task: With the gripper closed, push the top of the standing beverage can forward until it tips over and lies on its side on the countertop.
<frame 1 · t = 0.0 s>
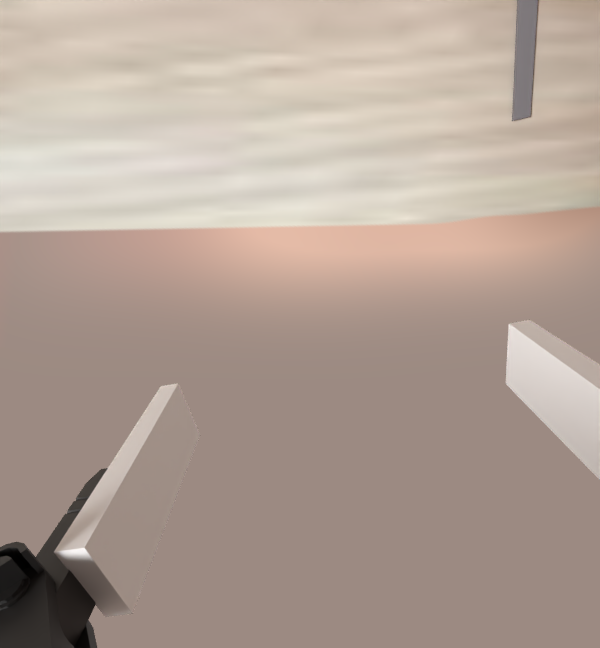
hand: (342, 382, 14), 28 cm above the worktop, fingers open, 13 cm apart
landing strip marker: (526, 5, 30), on the worktop
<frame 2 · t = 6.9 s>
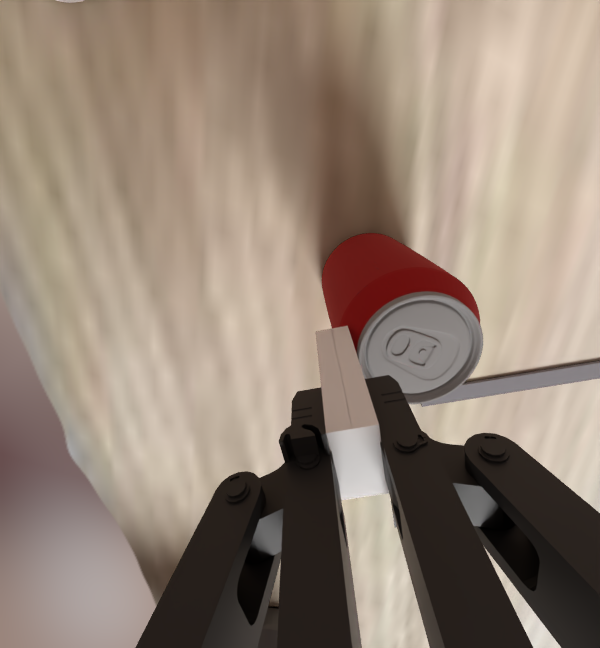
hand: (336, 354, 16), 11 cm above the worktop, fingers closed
beverage can: (364, 275, 26), on the worktop, touching gripper
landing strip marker: (525, 380, 29), on the worktop
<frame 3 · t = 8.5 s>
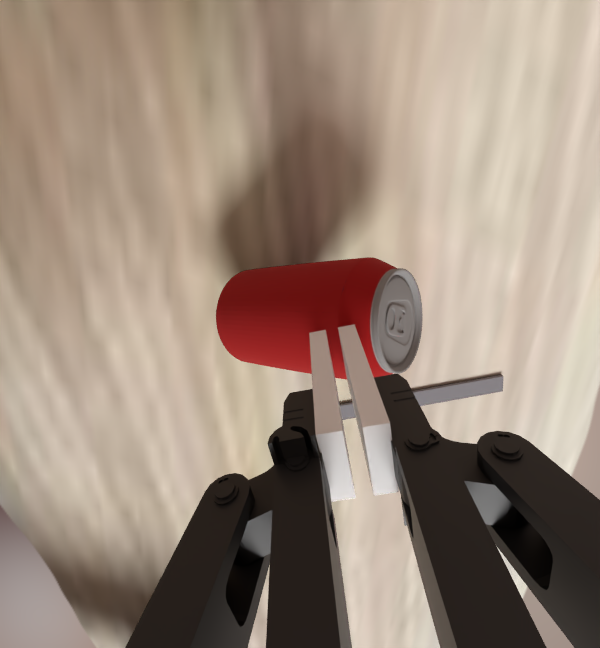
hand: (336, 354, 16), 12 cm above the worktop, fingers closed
beverage can: (245, 316, 25), point 2 cm above the worktop, touching gripper
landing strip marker: (402, 399, 31), on the worktop
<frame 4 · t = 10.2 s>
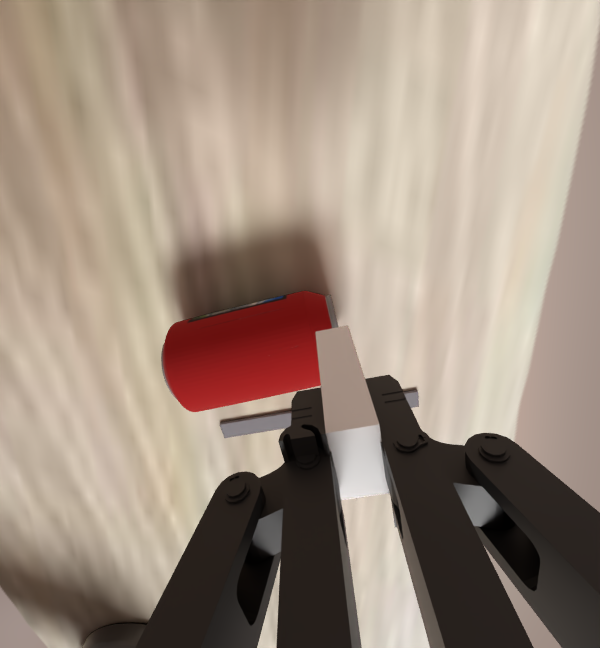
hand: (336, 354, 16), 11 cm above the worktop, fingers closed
beverage can: (176, 369, 25), point 3 cm above the worktop
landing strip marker: (317, 413, 31), on the worktop
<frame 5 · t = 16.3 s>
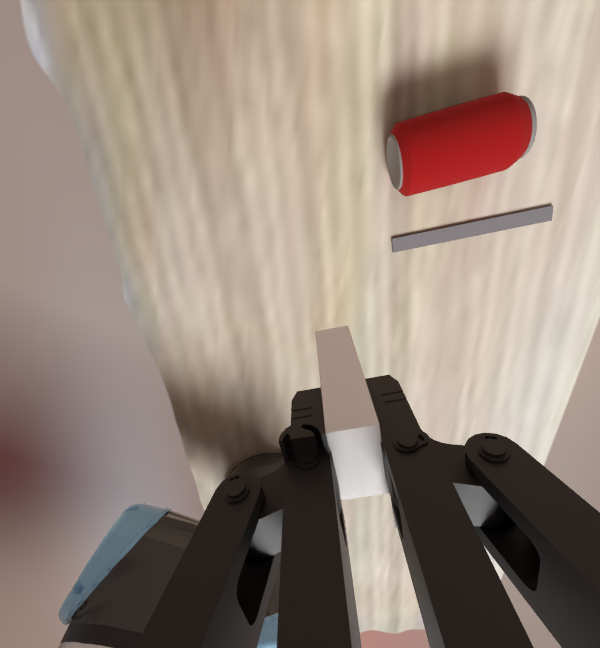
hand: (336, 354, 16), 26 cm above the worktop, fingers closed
beverage can: (390, 163, 33), point 3 cm above the worktop
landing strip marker: (469, 229, 39), on the worktop
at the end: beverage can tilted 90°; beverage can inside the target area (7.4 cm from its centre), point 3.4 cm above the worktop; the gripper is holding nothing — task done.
